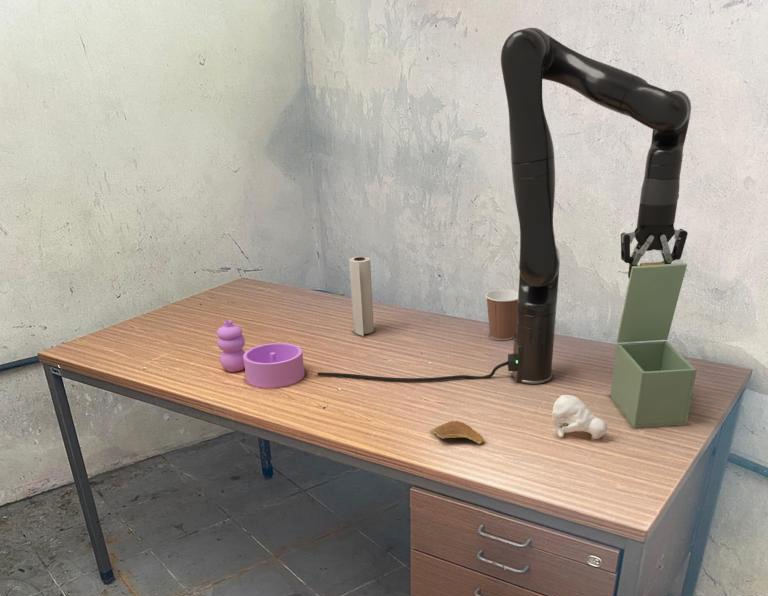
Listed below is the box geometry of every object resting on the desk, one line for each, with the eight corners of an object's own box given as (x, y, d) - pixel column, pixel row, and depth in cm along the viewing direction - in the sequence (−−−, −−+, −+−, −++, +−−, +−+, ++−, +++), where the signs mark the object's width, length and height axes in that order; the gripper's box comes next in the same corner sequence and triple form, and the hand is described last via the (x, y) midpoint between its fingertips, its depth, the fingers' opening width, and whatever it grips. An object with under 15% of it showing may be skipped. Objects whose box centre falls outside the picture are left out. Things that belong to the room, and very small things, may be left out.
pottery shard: (485, 444, 164) (486, 434, 162) (445, 452, 162) (445, 441, 160) (467, 424, 172) (467, 414, 171) (428, 431, 170) (428, 421, 169)
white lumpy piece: (561, 387, 165) (616, 402, 160) (555, 422, 170) (607, 437, 165) (551, 398, 161) (607, 414, 156) (545, 434, 166) (598, 450, 161)
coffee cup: (526, 333, 220) (528, 291, 214) (511, 344, 213) (513, 302, 207) (494, 328, 225) (495, 287, 219) (478, 339, 218) (479, 297, 212)
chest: (686, 424, 167) (696, 369, 160) (634, 428, 167) (642, 373, 160) (658, 392, 182) (666, 340, 175) (610, 395, 182) (616, 343, 175)
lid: (687, 264, 161) (679, 253, 165) (632, 268, 161) (626, 257, 165) (667, 339, 175) (660, 328, 178) (617, 343, 174) (611, 331, 178)
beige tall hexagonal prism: (362, 326, 232) (357, 254, 220) (378, 329, 229) (374, 257, 217) (347, 333, 227) (342, 260, 215) (363, 337, 224) (359, 263, 212)
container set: (315, 370, 204) (310, 322, 197) (281, 391, 193) (275, 341, 186) (242, 357, 215) (235, 311, 208) (206, 376, 204) (197, 328, 197)
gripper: (685, 194, 163) (673, 273, 172) (619, 198, 163) (610, 277, 172) (699, 201, 157) (686, 283, 166) (630, 205, 156) (620, 287, 165)
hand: (647, 280), depth 169 cm, fingers open, 6 cm apart
